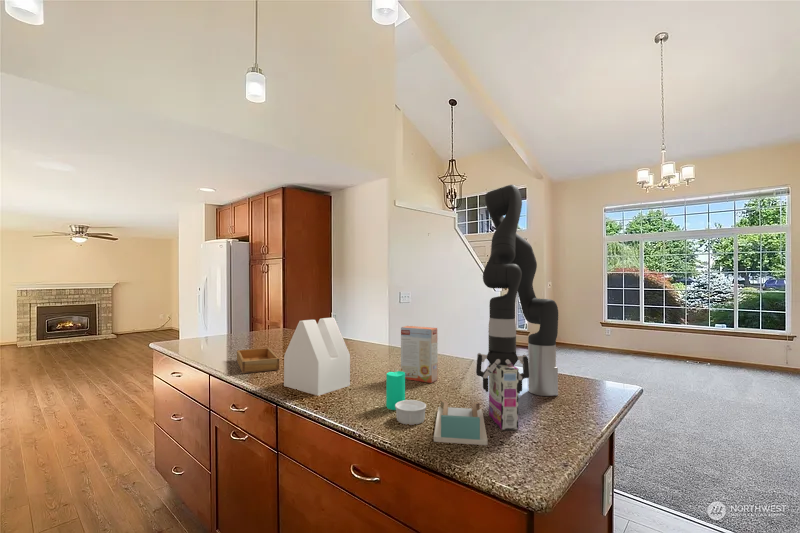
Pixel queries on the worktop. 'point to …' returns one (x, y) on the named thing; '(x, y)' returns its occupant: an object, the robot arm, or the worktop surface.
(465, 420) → the slot board
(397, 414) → the ramekin
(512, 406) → the candy bar box
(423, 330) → the cracker box
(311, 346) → the slotted house block
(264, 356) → the tray
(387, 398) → the candle
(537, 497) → the worktop surface
